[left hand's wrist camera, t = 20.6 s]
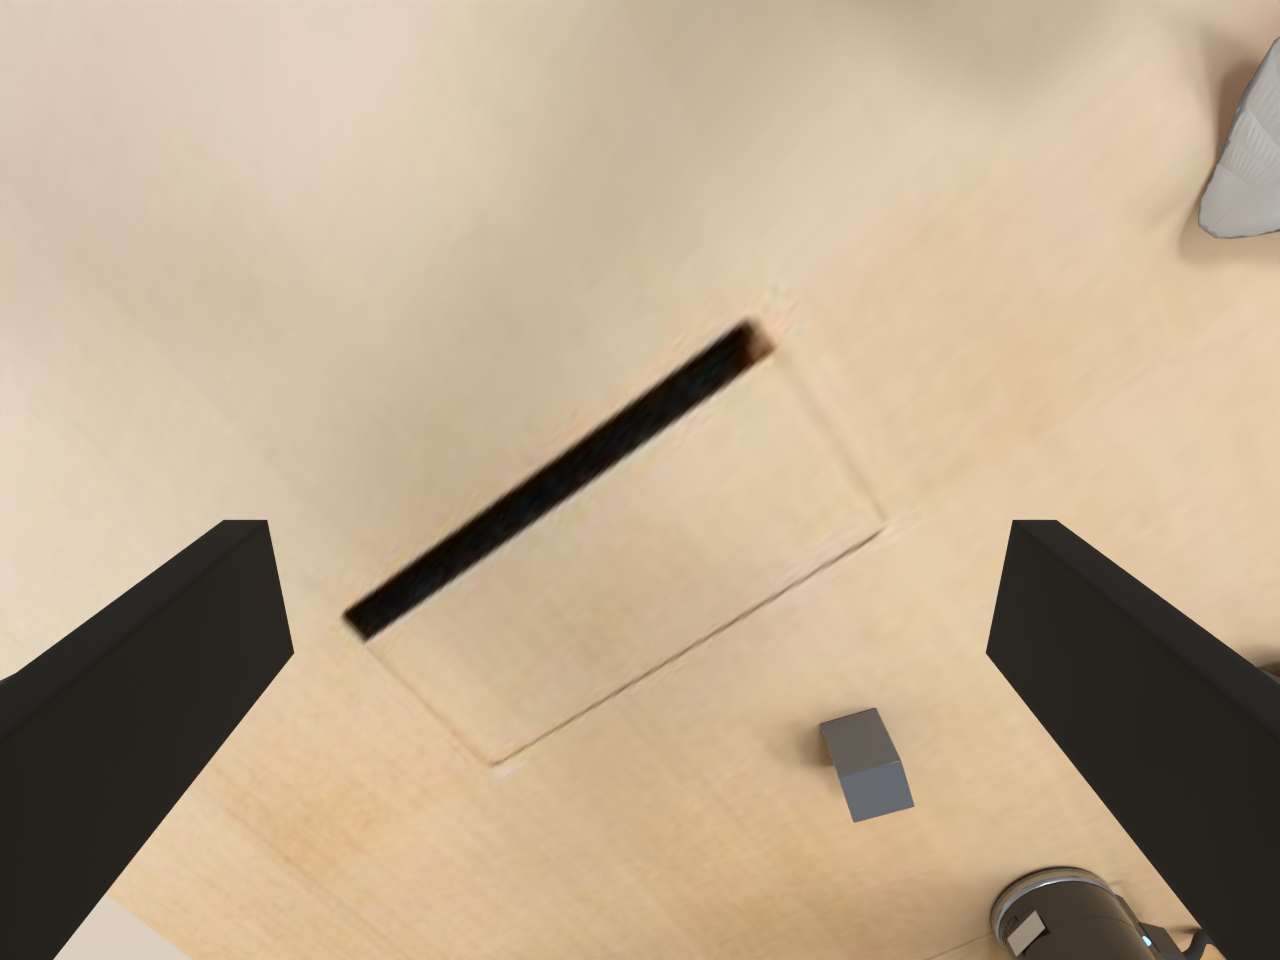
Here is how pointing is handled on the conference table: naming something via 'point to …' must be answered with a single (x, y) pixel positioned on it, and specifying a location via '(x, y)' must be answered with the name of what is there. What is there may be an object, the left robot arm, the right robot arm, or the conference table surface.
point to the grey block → (867, 765)
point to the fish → (1249, 162)
